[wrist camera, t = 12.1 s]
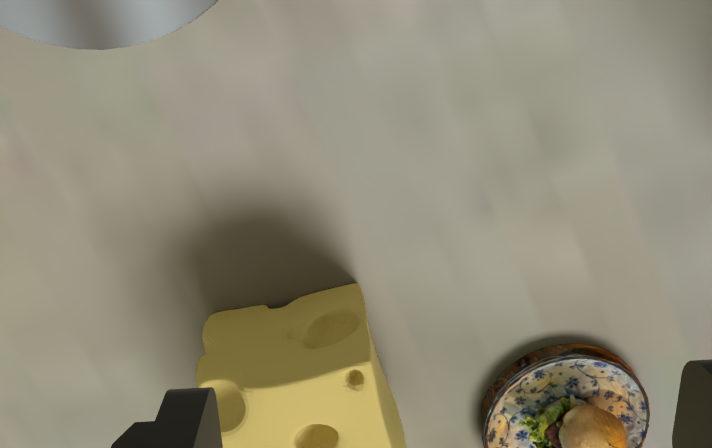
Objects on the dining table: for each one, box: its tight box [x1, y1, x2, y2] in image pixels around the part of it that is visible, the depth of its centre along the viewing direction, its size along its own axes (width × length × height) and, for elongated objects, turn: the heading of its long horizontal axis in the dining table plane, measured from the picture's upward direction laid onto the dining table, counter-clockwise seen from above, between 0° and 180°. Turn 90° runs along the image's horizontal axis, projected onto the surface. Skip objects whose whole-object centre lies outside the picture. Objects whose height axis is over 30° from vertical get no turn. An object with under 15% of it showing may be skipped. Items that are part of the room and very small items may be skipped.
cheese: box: [196, 283, 407, 448], centre depth 41 cm, size 10×11×10 cm
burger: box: [481, 344, 650, 448], centre depth 45 cm, size 12×12×8 cm
